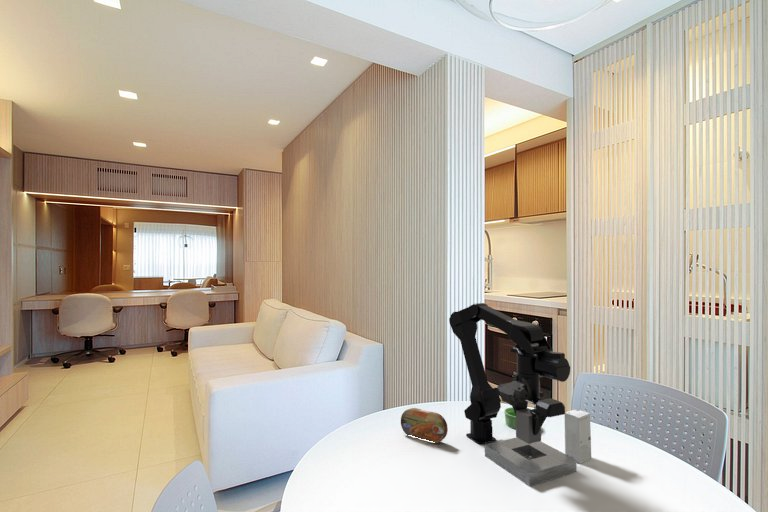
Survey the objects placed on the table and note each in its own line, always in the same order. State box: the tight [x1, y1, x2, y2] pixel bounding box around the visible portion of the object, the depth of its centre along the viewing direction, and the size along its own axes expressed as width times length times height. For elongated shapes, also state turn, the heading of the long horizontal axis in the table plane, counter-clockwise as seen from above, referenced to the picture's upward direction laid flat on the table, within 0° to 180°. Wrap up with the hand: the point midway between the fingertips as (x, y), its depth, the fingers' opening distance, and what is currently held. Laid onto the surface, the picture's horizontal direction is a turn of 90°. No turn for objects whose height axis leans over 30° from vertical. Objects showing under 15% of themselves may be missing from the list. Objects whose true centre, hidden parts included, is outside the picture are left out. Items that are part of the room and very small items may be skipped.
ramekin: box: [503, 407, 516, 430], centre depth 124 cm, size 9×9×4 cm
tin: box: [400, 407, 449, 444], centre depth 113 cm, size 15×3×8 cm, turn 56°
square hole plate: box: [484, 436, 578, 487], centre depth 99 cm, size 16×16×3 cm
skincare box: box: [564, 408, 592, 464], centre depth 102 cm, size 6×4×12 cm
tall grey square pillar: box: [515, 407, 542, 444], centre depth 99 cm, size 4×4×7 cm
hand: (528, 431), depth 99 cm, fingers closed on tall grey square pillar, 4 cm apart
